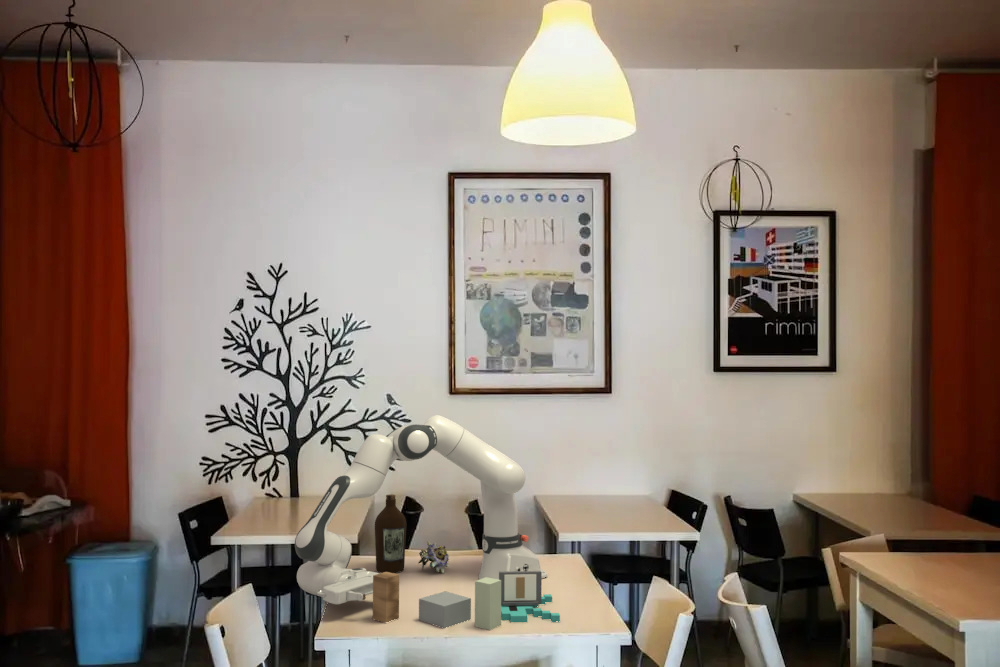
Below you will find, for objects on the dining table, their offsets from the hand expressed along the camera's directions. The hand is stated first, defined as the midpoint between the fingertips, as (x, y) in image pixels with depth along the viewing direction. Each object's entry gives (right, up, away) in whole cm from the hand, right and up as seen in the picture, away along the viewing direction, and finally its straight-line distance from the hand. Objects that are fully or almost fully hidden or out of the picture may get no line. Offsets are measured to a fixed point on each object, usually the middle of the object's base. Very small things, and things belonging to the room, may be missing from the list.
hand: (376, 593), depth 230 cm
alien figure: (+40, -7, +5) cm, 41 cm away
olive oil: (-3, -8, +49) cm, 50 cm away
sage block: (+31, -6, -8) cm, 33 cm away
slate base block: (+19, -7, -3) cm, 21 cm away
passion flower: (+12, -8, +48) cm, 50 cm away
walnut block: (+3, -6, -3) cm, 7 cm away
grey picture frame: (+40, -5, +5) cm, 40 cm away
